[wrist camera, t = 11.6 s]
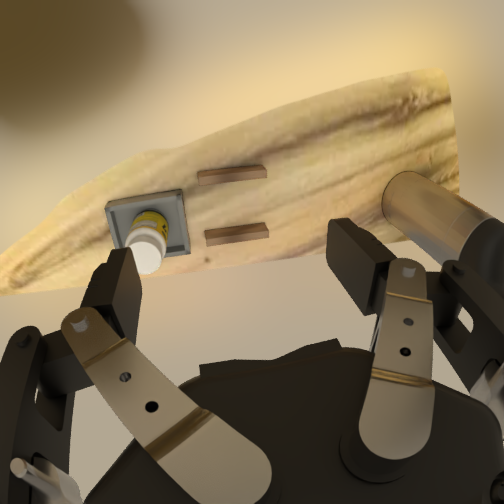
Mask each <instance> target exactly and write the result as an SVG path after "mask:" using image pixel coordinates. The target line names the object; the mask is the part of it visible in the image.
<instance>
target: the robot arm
mask: <svg viewBox="0 0 504 504" xmlns="http://www.w3.org/2000/svg"><path fill="white" fill-rule="evenodd" d="M382 209H383V213H384V216H385V217H386V219H387V220H388V221H389V222H390V223H391V224H393V225H394V226H395V227H396V228H398V229H399V230H400V231H401V232H402V233H404V234H405V235H406V236H407V237H408V238H410V239H411V240H412V241H414V242H415V243H416V244H417V245H418V246H419V247H420V248H422V249H423V250H424V251H425V252H426V253H428V254H429V255H430V256H431V257H432V258H433V259H434V260H436V261H437V262H438V263H439V264H440V265H441V266H442V269H441V271H440V272H426V270H425V268H424V267H423V266H422V265H421V264H420V263H419V262H417V261H414V260H412V259H408V258H397V257H396V256H395V255H394V254H393V253H392V252H391V251H390V250H389V249H388V248H387V247H385V245H382V243H381V242H380V241H379V240H377V238H376V237H375V236H374V235H373V234H371V233H370V232H369V231H367V230H364V229H362V228H360V227H358V226H357V225H356V224H354V223H353V222H352V221H351V220H350V219H349V218H338V219H331V220H330V221H329V223H328V233H327V246H326V259H327V263H328V266H329V267H330V269H331V270H332V271H333V273H334V274H335V275H336V277H337V278H338V280H339V281H340V282H341V284H342V285H343V287H344V288H345V289H346V291H347V292H348V294H349V295H350V296H351V298H352V299H353V301H354V302H355V304H356V305H357V306H358V308H359V309H360V311H361V312H362V313H363V315H364V316H367V315H371V314H375V313H376V314H377V319H376V322H375V327H374V332H373V336H372V340H371V345H370V348H369V351H367V350H363V349H359V348H349V347H341V345H340V343H339V341H338V339H337V338H335V339H332V340H327V341H323V342H319V343H315V344H310V345H306V346H304V347H301V348H299V349H297V350H295V351H292V352H290V353H288V354H286V355H284V356H281V357H279V358H277V359H274V360H236V359H234V360H228V361H221V362H215V363H209V364H201V365H199V367H200V375H199V376H197V377H194V378H192V379H190V380H188V381H186V382H184V383H183V384H181V385H180V386H179V387H177V386H175V385H174V384H173V383H172V382H171V381H170V380H169V379H168V378H167V377H166V376H165V375H163V373H162V372H161V371H160V370H159V369H157V368H156V367H155V366H154V365H153V364H152V363H151V362H150V361H149V360H148V359H147V358H146V357H145V356H144V355H143V354H142V353H141V352H140V351H139V350H138V348H137V347H136V346H135V344H136V335H137V327H138V319H139V312H140V305H141V298H142V286H141V280H140V277H139V274H138V270H137V267H136V263H135V259H134V256H133V252H132V250H131V248H130V247H125V248H118V249H112V250H111V252H110V255H109V257H108V260H107V263H102V264H100V266H99V267H98V268H97V269H96V270H95V271H94V272H93V275H92V277H91V281H90V282H89V285H88V288H87V290H86V292H85V295H84V297H83V300H82V303H81V306H80V308H78V309H76V310H74V311H72V312H70V313H69V314H68V315H67V316H66V317H65V318H64V319H63V321H62V323H61V330H58V331H55V332H53V333H50V334H47V335H44V336H42V334H41V333H40V331H39V329H38V328H37V327H35V326H26V327H23V328H21V329H19V330H18V331H16V332H15V333H14V334H13V336H11V338H10V340H9V342H8V344H7V347H6V349H5V352H4V354H3V357H2V360H1V362H0V504H504V447H503V441H504V223H502V222H500V221H499V220H498V219H496V218H494V217H493V216H491V215H489V214H488V213H487V212H485V211H483V210H482V209H480V208H478V207H477V206H475V205H473V204H472V203H470V202H468V201H467V200H465V199H463V198H461V197H460V196H458V195H456V194H454V193H453V192H451V191H449V190H447V189H446V188H444V187H442V186H440V185H438V184H436V183H434V182H433V181H431V180H429V179H427V178H425V177H423V176H421V175H419V174H417V173H415V172H412V171H406V172H402V173H400V174H398V175H397V176H396V177H394V178H393V179H392V180H391V182H390V183H389V184H388V186H387V188H386V190H385V192H384V195H383V200H382ZM462 306H463V307H464V309H465V310H466V311H467V312H468V313H469V314H470V316H471V317H472V319H473V324H474V325H473V330H472V332H471V333H470V332H469V331H468V330H467V328H466V327H465V326H464V325H463V324H462V322H461V321H460V320H459V319H458V315H459V313H460V311H461V308H462ZM433 339H434V341H435V342H436V344H437V345H438V346H439V348H440V349H441V351H442V352H443V354H444V355H445V356H446V358H447V359H448V361H449V362H450V364H451V365H452V367H453V368H454V370H455V371H456V373H457V374H458V376H459V378H460V379H461V381H462V382H463V384H464V385H465V387H466V388H467V390H468V392H469V393H470V396H468V395H465V394H463V393H461V392H459V391H456V390H454V389H452V388H449V387H447V386H445V385H443V384H440V383H438V382H436V381H434V380H432V379H431V378H432V361H433ZM92 385H95V386H96V388H97V389H98V391H99V392H100V393H101V395H102V396H103V398H104V399H105V400H106V402H107V403H108V404H109V406H110V407H111V408H112V410H113V411H114V412H115V414H116V415H117V416H118V418H119V419H120V420H121V421H122V422H123V424H124V425H125V426H126V428H127V429H128V430H129V431H130V433H131V434H132V435H133V436H134V437H135V438H134V439H133V440H132V441H131V443H130V444H129V445H128V446H127V447H126V449H125V450H124V451H123V453H122V454H121V455H120V456H119V457H118V459H117V460H116V461H115V462H114V464H113V465H112V466H111V467H110V469H109V470H108V471H107V472H106V473H105V475H104V476H103V477H102V478H101V480H100V481H99V482H98V483H97V484H96V486H95V487H94V488H93V489H92V490H91V492H90V493H89V494H88V496H87V497H86V499H85V501H84V503H83V502H82V499H81V497H80V490H79V487H78V485H77V483H76V482H75V480H74V479H73V478H72V477H70V476H69V453H70V437H71V425H72V415H73V406H74V398H75V391H77V390H81V389H84V388H87V387H90V386H92ZM36 388H37V389H38V393H37V398H36V403H35V393H36Z"/></svg>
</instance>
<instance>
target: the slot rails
mask: <svg viewBox="0 0 504 504" xmlns="http://www.w3.org/2000/svg"><path fill="white" fill-rule="evenodd" d="M197 173H198V182H199V186H201V185H209V184H217V183H225V182H233V181H242V180H251V179H261V178H267V169H266V168H265V167H264V166H263V165H255V166H245V167H235V168H226V169H218V170H210V171H202V172H197ZM205 237H206V244H207V246H214V245H221V244H228V243H235V242H242V241H249V240H256V239H263V238H269V230H268V228H267V227H266V225H265V223H258V224H250V225H243V226H235V227H228V228H221V229H214V230H207V231H205Z"/></svg>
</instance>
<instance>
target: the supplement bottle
mask: <svg viewBox="0 0 504 504" xmlns="http://www.w3.org/2000/svg"><path fill="white" fill-rule="evenodd" d="M168 230H169V225H168V221H167V219H166V217H165V216H164V215H163V214H162V213H161V212H159V211H157V210H154V209H146V210H143V211H141V212H139V213H138V214H137V215H136V217H135V218H134V220H133V223H132V225H131V228H130V231H129V233H128V236H127V239H126V242H125V247H130V248H131V250H132V252H133V256H134V259H135V263H136V267H137V270H138V274H151V273H153V272H155V271H156V270H157V269H158V268H159V267H160V265H161V261H162V259H163V258H164V256H165V253H166V247H167V238H168Z"/></svg>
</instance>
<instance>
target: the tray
mask: <svg viewBox="0 0 504 504" xmlns="http://www.w3.org/2000/svg"><path fill="white" fill-rule="evenodd" d="M146 209H154V210H157V211H159V212H161V213H162V214H163V215H164V216H165V217H166V219H167V221H168V225H169V230H168V238H167V247H166V253H165V256H164V258H166V257H173V256H180V255H187V254H191V251H190V241H189V235H188V229H187V223H186V216H185V210H184V203H183V196H182V189H180V190H173V191H166V192H160V193H154V194H148V195H142V196H136V197H130V198H125V199H119V200H114V201H109V202H108V203H107V205H106V206H105V212H106V216H107V220H108V224H109V228H110V232H111V235H112V239H113V243H114V246H115V249H118V248H125V242H126V239H127V236H128V233H129V231H130V228H131V225H132V223H133V220H134V218H135V217H136V215H137V214H138V213H139V212H141V211H143V210H146Z"/></svg>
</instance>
